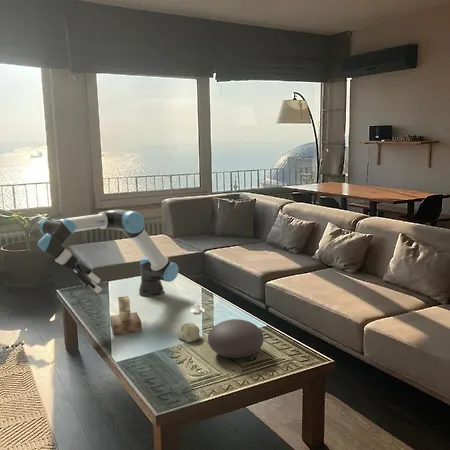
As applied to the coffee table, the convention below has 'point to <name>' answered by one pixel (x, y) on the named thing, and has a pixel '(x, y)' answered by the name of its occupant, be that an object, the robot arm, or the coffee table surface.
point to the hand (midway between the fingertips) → (99, 286)
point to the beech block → (124, 308)
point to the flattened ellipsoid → (235, 338)
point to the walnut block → (125, 324)
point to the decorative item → (189, 332)
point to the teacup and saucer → (197, 309)
